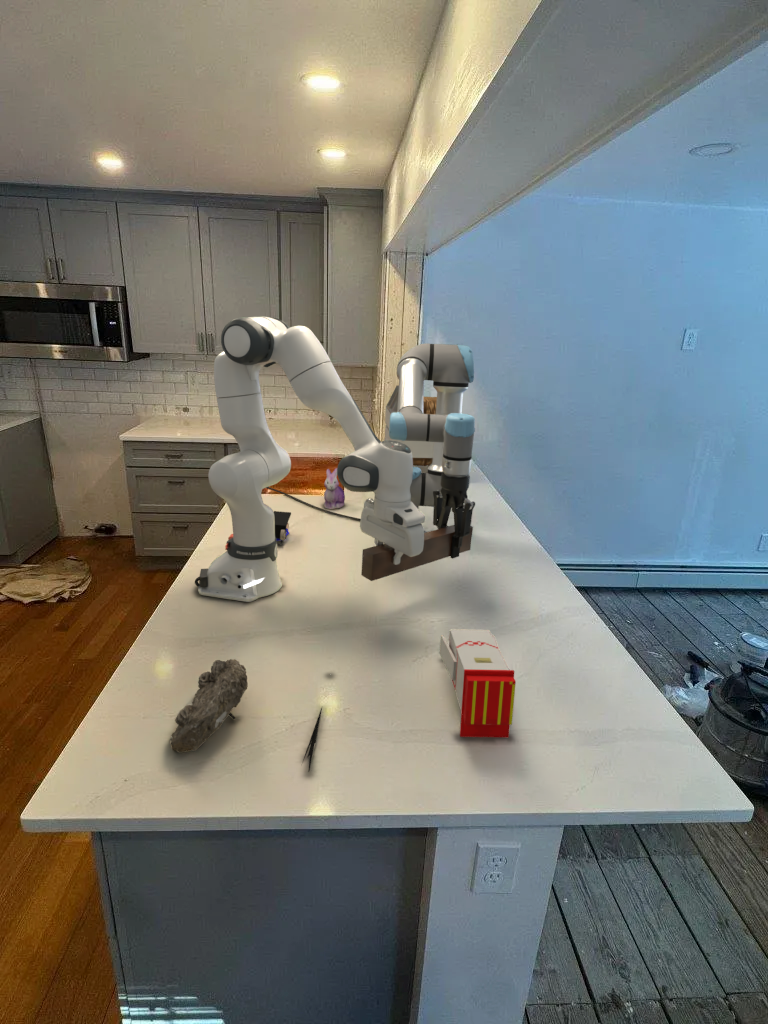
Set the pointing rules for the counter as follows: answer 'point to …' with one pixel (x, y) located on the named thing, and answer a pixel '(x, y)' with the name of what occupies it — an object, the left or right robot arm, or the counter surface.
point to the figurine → (333, 491)
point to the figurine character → (281, 525)
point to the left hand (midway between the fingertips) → (388, 559)
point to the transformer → (419, 449)
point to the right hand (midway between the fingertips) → (448, 553)
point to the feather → (313, 740)
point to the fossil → (210, 704)
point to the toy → (479, 682)
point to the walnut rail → (434, 549)
